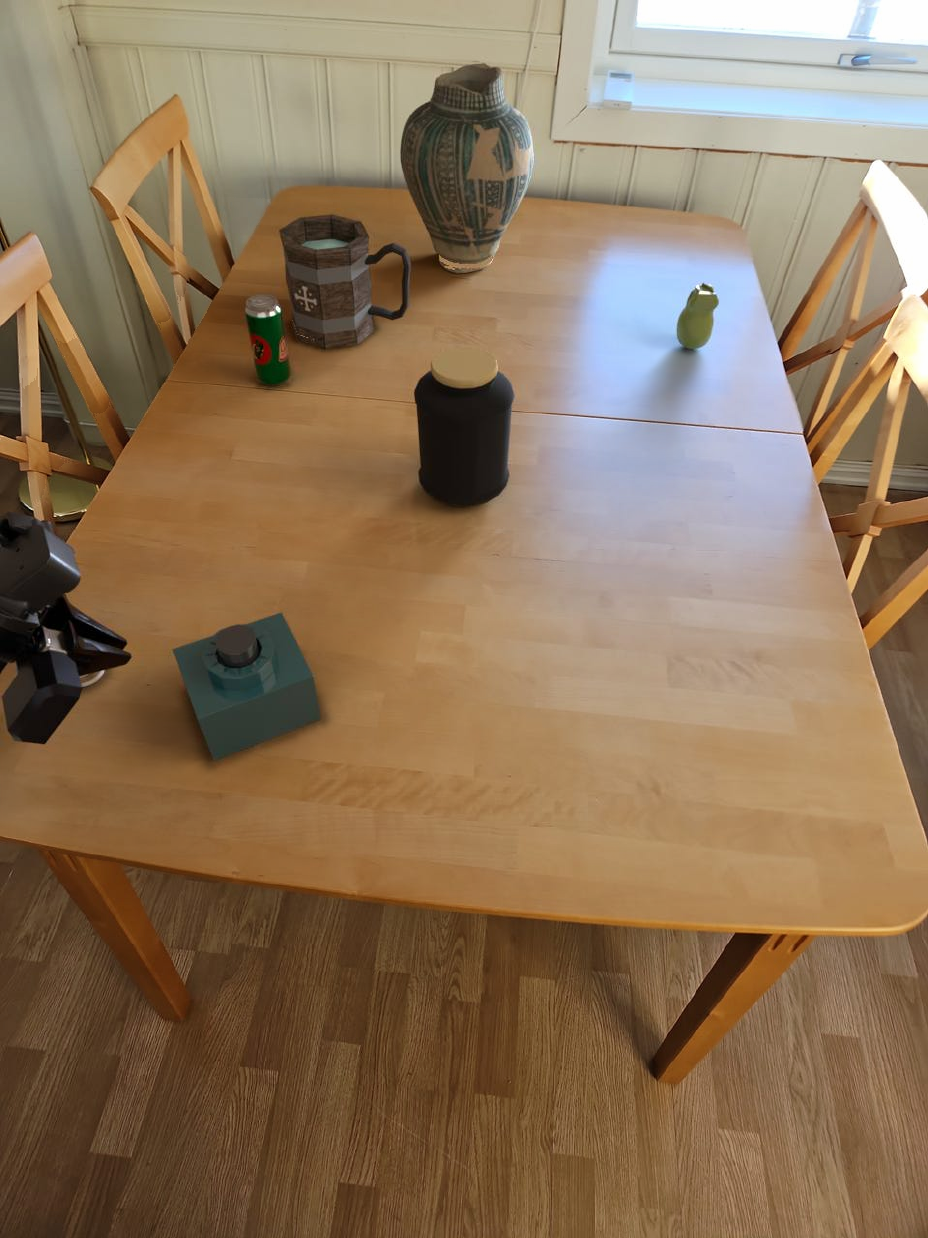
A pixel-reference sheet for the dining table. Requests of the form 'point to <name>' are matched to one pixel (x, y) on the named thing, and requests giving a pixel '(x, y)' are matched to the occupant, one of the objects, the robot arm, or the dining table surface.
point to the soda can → (268, 339)
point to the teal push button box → (249, 689)
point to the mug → (334, 280)
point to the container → (464, 427)
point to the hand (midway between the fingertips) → (126, 652)
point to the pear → (697, 317)
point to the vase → (467, 163)
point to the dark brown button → (237, 646)
